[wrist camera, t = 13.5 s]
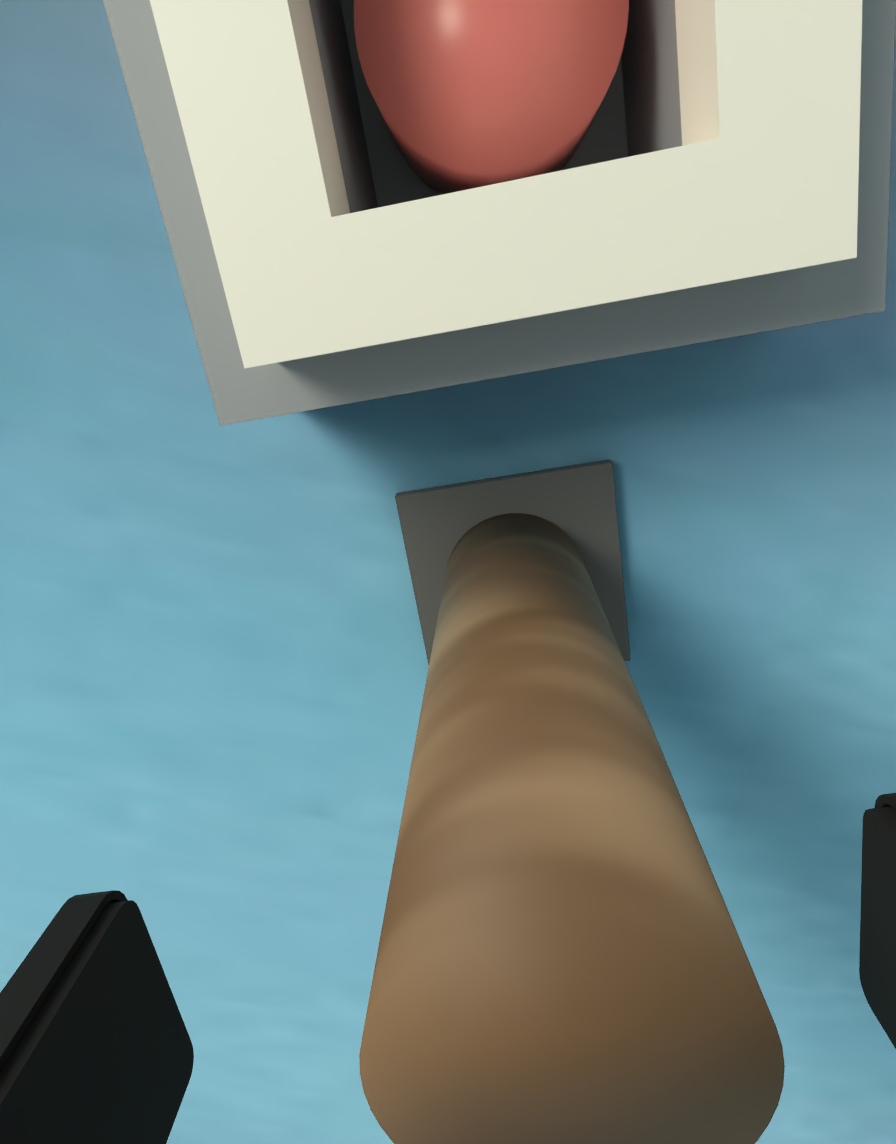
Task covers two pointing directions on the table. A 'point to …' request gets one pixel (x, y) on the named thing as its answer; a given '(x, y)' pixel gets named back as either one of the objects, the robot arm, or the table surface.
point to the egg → (488, 81)
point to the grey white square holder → (507, 198)
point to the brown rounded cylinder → (553, 892)
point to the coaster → (556, 495)
